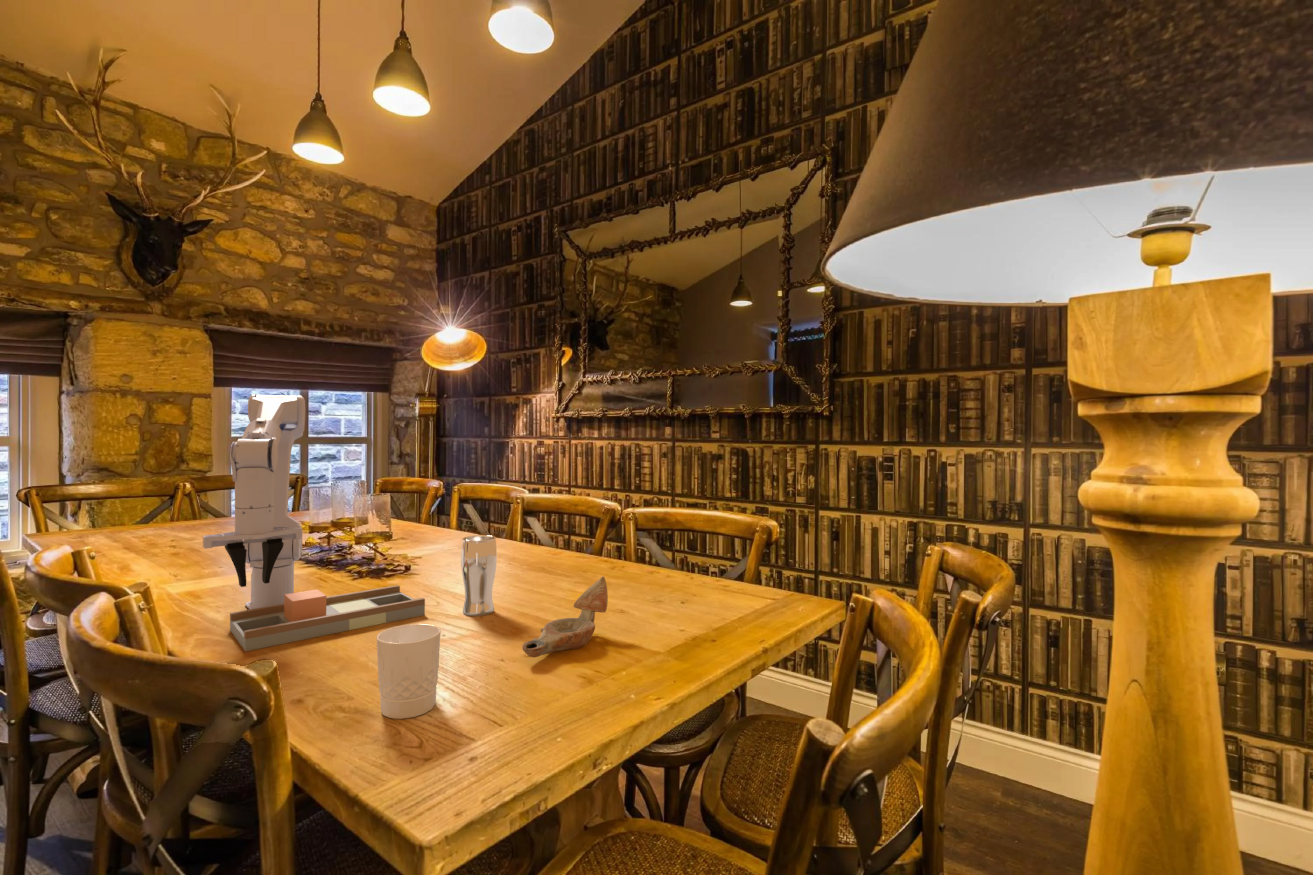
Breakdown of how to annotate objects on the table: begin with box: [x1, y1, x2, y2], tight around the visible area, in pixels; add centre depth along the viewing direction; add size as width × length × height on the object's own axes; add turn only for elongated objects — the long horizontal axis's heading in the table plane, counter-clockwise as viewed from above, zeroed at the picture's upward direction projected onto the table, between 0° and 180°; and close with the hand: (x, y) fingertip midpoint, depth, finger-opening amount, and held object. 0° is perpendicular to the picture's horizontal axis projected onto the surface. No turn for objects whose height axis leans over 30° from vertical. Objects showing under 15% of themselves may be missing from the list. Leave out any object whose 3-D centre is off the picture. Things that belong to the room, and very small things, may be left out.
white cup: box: [376, 623, 442, 720], centre depth 81 cm, size 8×8×10 cm
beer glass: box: [460, 534, 498, 617], centre depth 124 cm, size 7×7×15 cm
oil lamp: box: [521, 576, 609, 658], centre depth 105 cm, size 9×21×10 cm, turn 150°
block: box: [284, 588, 327, 622], centre depth 113 cm, size 6×6×4 cm
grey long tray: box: [229, 584, 426, 652], centre depth 116 cm, size 14×30×3 cm, turn 133°
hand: (254, 583), depth 108 cm, fingers open, 3 cm apart
